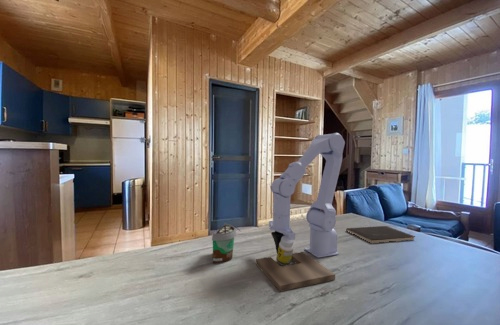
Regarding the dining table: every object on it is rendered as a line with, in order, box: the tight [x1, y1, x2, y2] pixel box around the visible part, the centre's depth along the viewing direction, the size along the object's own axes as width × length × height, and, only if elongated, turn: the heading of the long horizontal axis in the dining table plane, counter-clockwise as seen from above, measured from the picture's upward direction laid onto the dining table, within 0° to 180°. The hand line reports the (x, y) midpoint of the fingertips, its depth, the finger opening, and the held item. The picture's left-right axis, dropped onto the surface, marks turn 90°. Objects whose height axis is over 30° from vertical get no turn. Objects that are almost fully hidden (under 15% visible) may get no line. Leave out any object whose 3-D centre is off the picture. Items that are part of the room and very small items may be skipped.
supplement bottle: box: [276, 236, 295, 266], centre depth 73 cm, size 5×5×8 cm
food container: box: [211, 223, 237, 264], centre depth 76 cm, size 12×6×10 cm, turn 168°
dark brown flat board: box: [346, 225, 416, 244], centre depth 104 cm, size 16×23×2 cm
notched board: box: [255, 251, 336, 292], centre depth 69 cm, size 18×16×2 cm
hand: (280, 253), depth 76 cm, fingers closed, pressing on supplement bottle
